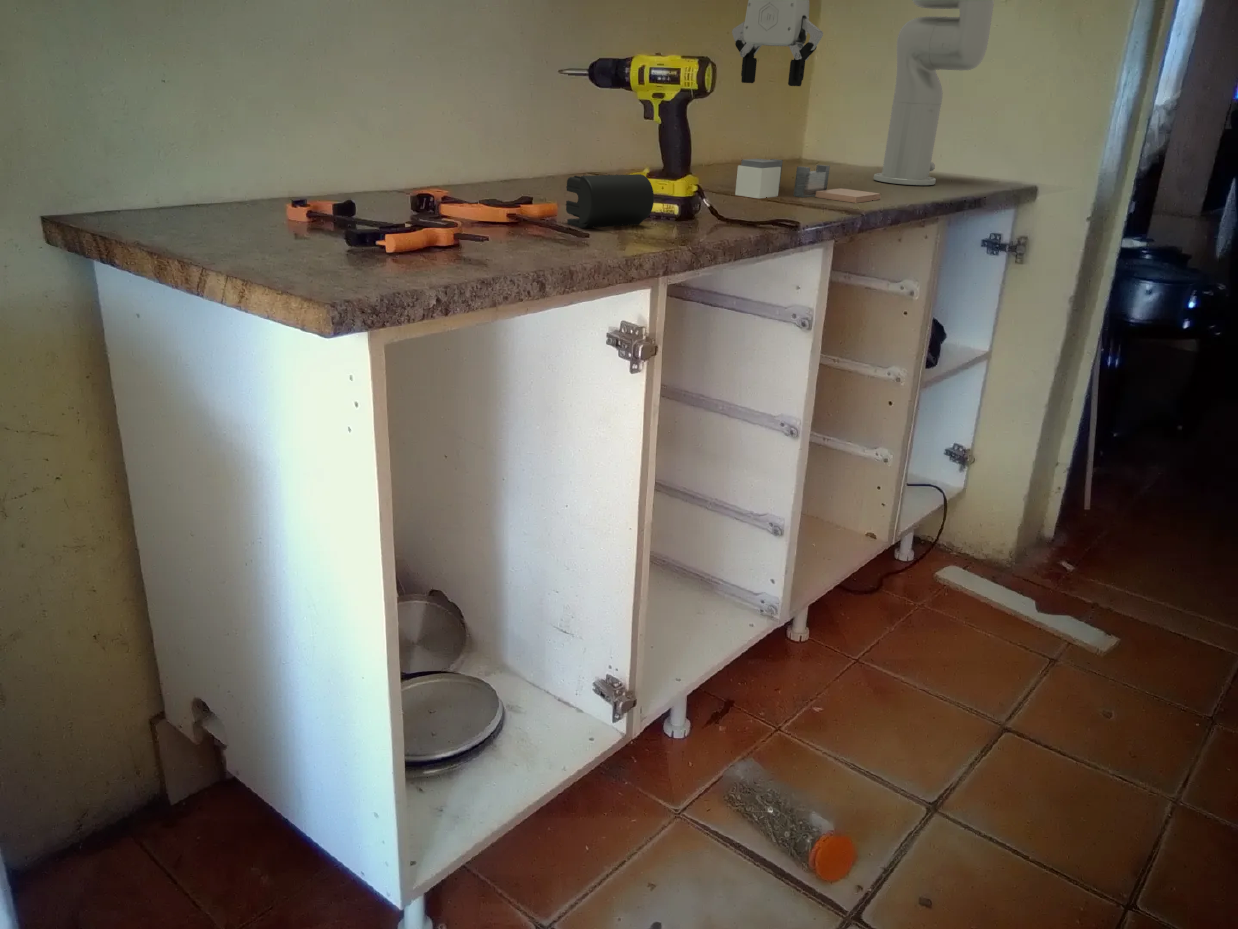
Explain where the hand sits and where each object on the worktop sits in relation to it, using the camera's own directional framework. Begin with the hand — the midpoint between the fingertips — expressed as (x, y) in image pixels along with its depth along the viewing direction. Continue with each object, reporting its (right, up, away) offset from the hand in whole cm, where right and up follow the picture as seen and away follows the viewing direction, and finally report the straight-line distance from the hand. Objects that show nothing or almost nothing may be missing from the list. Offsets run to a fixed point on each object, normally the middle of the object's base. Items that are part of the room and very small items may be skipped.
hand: (770, 84), depth 160 cm
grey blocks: (+5, -14, +13) cm, 20 cm away
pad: (+15, -17, +9) cm, 24 cm away
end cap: (-27, -32, -32) cm, 53 cm away
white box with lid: (-2, -17, +6) cm, 18 cm away
